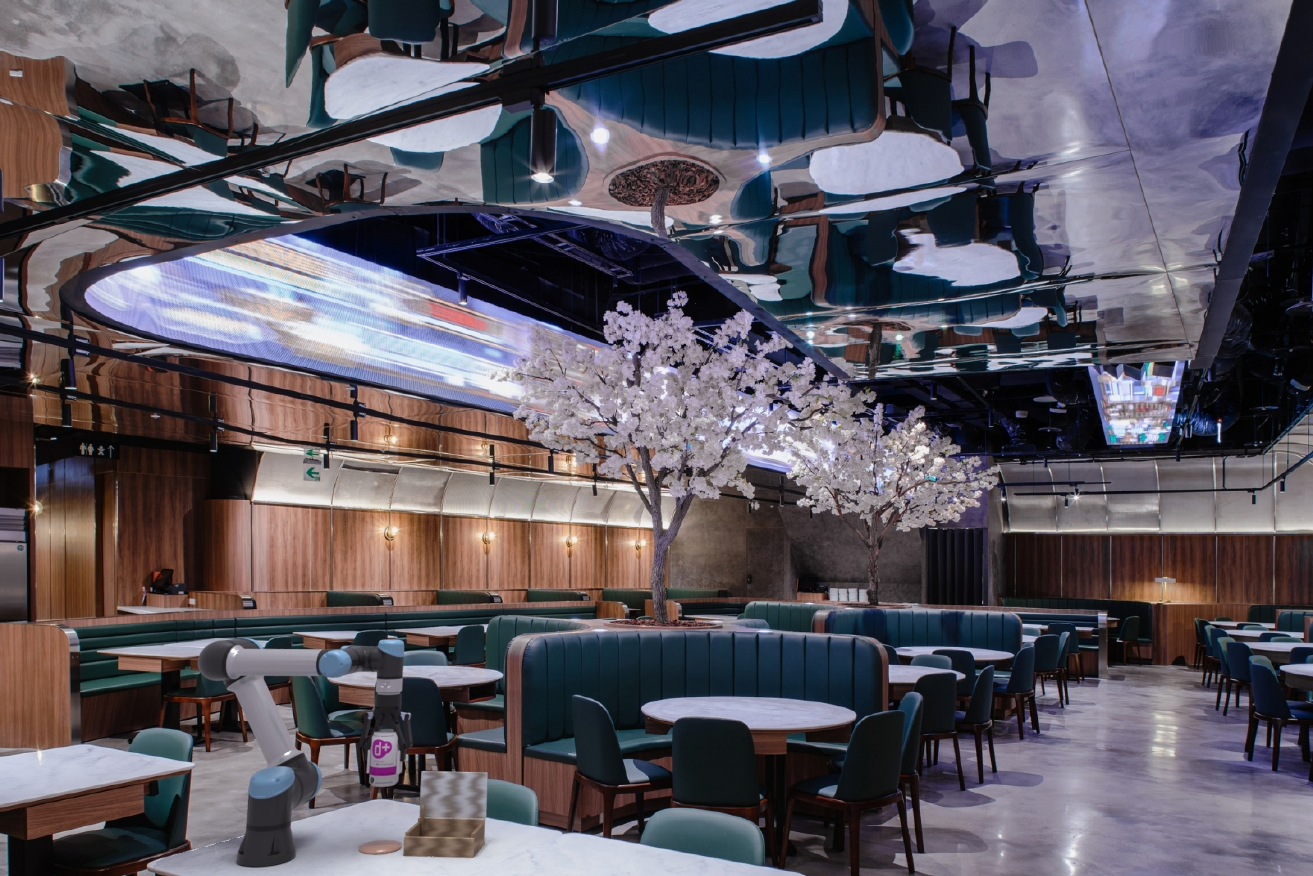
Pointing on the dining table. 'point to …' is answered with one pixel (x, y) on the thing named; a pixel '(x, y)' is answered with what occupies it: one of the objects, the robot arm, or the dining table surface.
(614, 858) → the dining table surface
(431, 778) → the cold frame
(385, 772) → the supplement can
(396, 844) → the saucer
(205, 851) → the dining table surface
